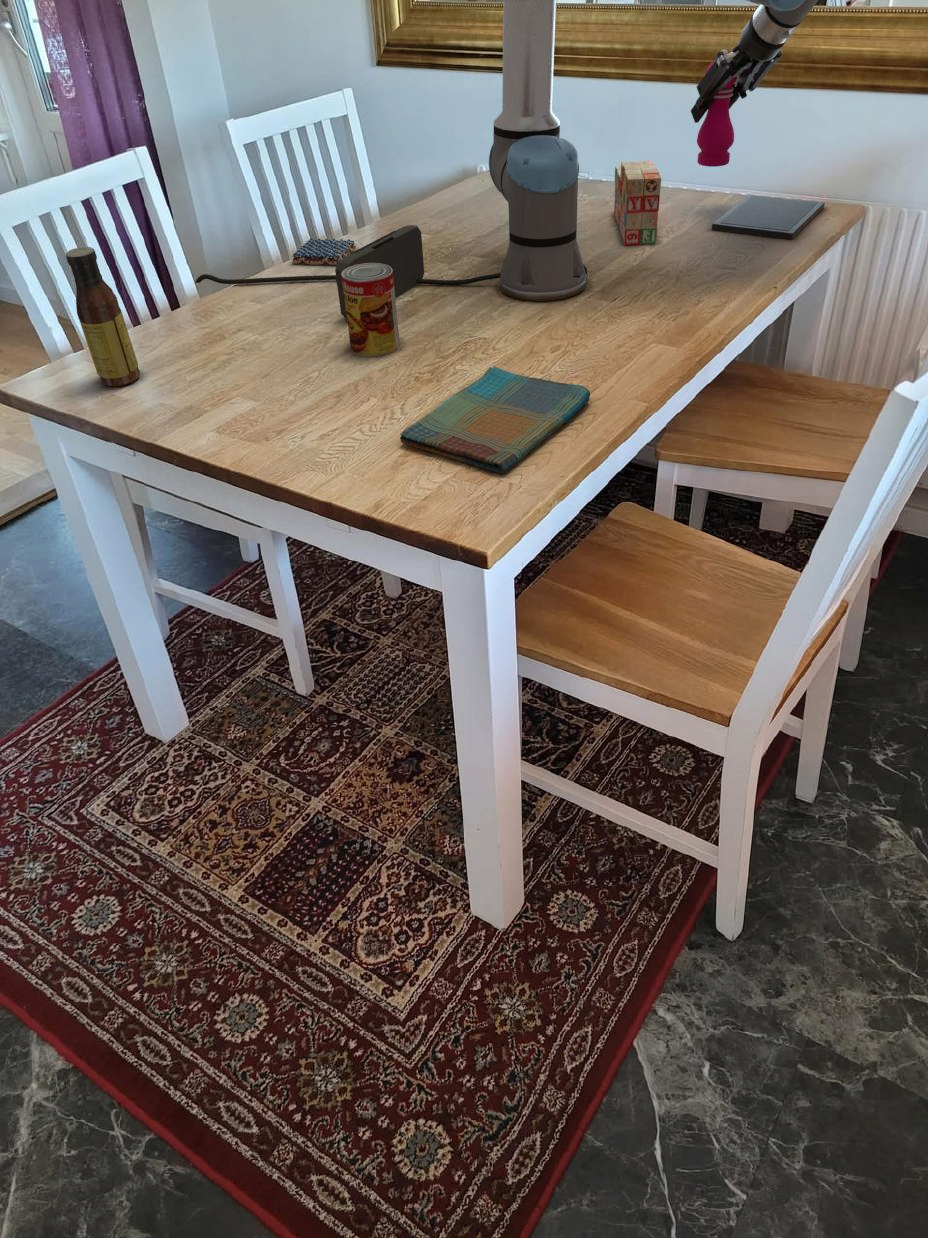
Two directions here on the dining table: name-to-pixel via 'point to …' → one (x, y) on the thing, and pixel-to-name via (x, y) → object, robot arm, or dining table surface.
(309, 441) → the dining table surface
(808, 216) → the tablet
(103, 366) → the sauce bottle
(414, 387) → the dining table surface
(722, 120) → the pepper mill
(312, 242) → the woven mat
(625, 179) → the stack of blocks
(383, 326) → the canned food
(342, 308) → the handheld gaming console
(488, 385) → the dish towel
